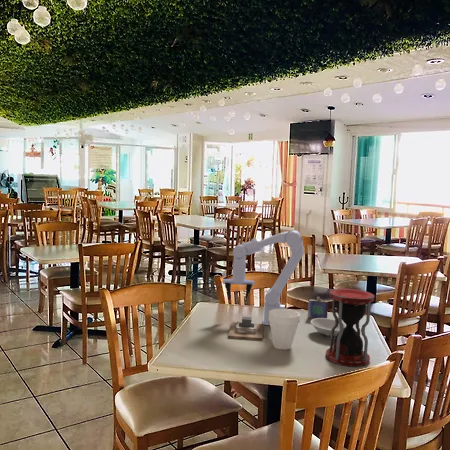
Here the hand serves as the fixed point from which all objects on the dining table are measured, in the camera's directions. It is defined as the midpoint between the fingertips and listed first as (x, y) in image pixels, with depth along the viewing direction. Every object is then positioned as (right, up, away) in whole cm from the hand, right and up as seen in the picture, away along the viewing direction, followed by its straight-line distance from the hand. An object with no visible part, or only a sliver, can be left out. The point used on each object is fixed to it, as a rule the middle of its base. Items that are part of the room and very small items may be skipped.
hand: (237, 299), depth 222 cm
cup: (+17, -14, -32) cm, 39 cm away
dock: (+3, -11, -16) cm, 20 cm away
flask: (+38, -11, +8) cm, 40 cm away
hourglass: (+40, -16, -42) cm, 60 cm away
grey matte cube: (+3, -10, -16) cm, 20 cm away
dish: (+38, -13, -16) cm, 43 cm away
